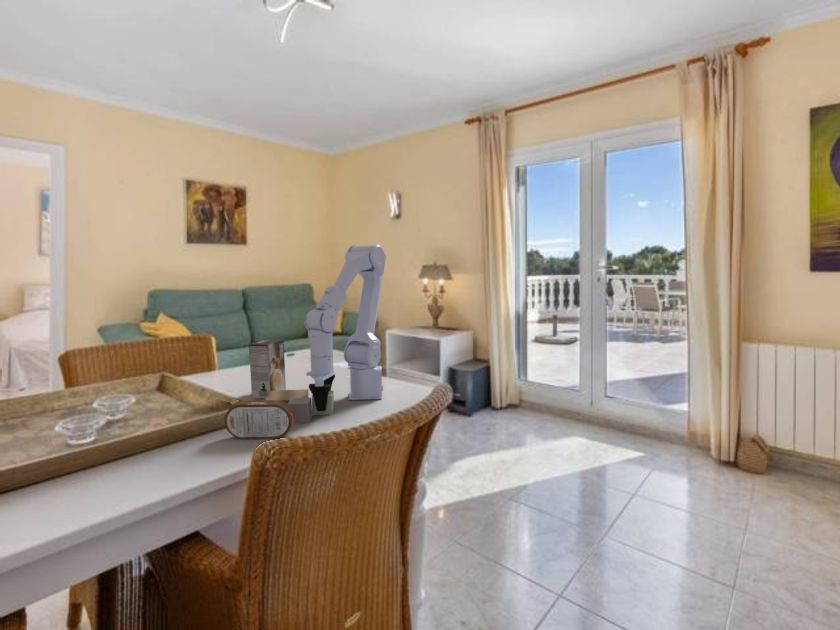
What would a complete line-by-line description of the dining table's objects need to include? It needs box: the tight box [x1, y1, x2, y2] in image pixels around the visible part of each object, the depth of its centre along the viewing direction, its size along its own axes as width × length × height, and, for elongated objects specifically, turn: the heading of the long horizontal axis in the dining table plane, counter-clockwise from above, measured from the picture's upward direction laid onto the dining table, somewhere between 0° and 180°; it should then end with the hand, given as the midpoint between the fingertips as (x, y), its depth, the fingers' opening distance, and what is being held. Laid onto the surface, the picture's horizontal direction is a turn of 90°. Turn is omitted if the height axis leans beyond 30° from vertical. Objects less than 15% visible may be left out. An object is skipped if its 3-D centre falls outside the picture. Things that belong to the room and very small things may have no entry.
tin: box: [224, 399, 295, 440], centre depth 102 cm, size 15×3×8 cm, turn 92°
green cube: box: [311, 390, 335, 416], centre depth 121 cm, size 5×5×5 cm
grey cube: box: [288, 397, 313, 424], centre depth 114 cm, size 5×5×5 cm
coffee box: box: [248, 338, 287, 400], centre depth 136 cm, size 9×6×16 cm
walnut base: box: [264, 388, 310, 404], centre depth 124 cm, size 10×10×4 cm
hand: (323, 406), depth 121 cm, fingers open, 7 cm apart
